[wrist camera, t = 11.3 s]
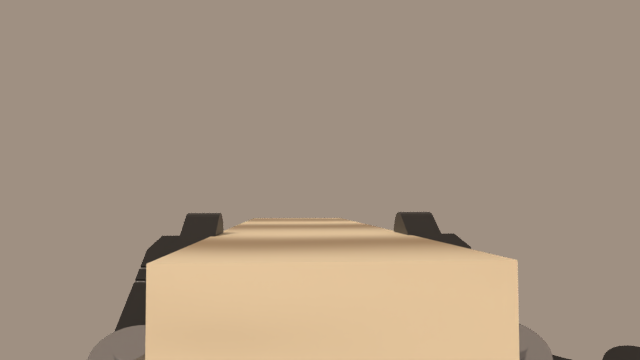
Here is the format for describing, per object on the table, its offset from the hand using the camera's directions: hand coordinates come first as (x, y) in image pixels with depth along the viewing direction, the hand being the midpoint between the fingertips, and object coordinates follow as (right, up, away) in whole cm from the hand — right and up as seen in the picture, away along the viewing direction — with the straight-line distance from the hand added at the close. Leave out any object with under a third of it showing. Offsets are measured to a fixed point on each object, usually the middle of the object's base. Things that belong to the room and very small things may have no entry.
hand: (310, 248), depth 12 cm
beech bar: (0, -3, +3) cm, 4 cm away
